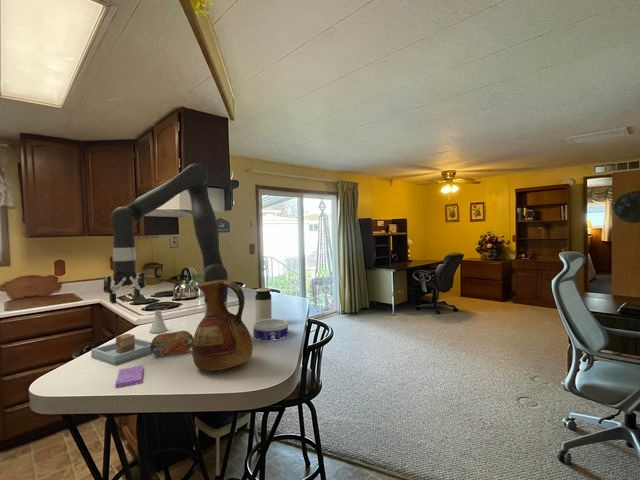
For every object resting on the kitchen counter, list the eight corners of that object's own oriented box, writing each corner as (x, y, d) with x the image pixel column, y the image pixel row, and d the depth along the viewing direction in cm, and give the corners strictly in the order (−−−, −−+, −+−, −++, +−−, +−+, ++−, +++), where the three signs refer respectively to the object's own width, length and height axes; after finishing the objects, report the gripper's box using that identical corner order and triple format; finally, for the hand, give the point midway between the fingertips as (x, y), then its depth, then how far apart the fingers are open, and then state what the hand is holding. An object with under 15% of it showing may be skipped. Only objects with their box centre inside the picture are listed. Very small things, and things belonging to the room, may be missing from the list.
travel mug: (274, 323, 166) (274, 288, 166) (264, 327, 159) (263, 290, 159) (263, 321, 170) (262, 287, 170) (252, 325, 163) (252, 289, 163)
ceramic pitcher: (205, 355, 122) (204, 276, 122) (258, 355, 122) (257, 275, 121) (181, 377, 103) (180, 283, 102) (244, 377, 102) (243, 282, 102)
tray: (157, 351, 127) (157, 343, 127) (114, 365, 113) (114, 356, 113) (133, 344, 135) (133, 337, 135) (91, 357, 121) (91, 349, 121)
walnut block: (134, 350, 125) (134, 335, 125) (122, 354, 121) (122, 338, 121) (127, 348, 128) (127, 333, 127) (116, 352, 124) (115, 336, 124)
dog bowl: (284, 329, 156) (284, 317, 155) (291, 339, 141) (291, 325, 141) (252, 332, 151) (251, 320, 151) (255, 343, 136) (255, 328, 136)
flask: (146, 332, 153) (146, 311, 152) (159, 328, 159) (158, 308, 159) (157, 334, 150) (157, 312, 150) (170, 330, 157) (169, 309, 156)
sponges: (115, 389, 96) (115, 383, 96) (119, 374, 107) (119, 368, 107) (142, 384, 99) (142, 378, 99) (143, 369, 110) (143, 364, 110)
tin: (150, 358, 119) (150, 336, 119) (150, 356, 122) (150, 333, 122) (194, 351, 126) (193, 330, 126) (193, 349, 129) (192, 328, 129)
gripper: (110, 261, 116) (111, 305, 117) (148, 258, 129) (148, 299, 129) (99, 260, 120) (100, 304, 120) (137, 258, 133) (137, 297, 133)
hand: (125, 301), depth 125 cm, fingers open, 8 cm apart
